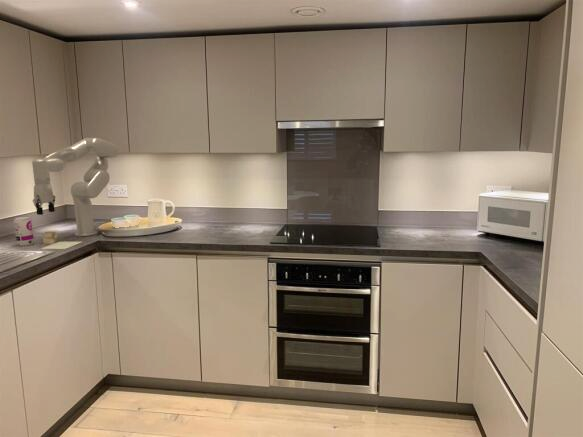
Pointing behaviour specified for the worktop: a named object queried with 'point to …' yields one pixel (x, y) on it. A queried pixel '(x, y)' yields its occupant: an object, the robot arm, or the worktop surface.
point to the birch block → (49, 237)
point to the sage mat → (61, 245)
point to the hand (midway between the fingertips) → (46, 213)
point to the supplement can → (23, 231)
